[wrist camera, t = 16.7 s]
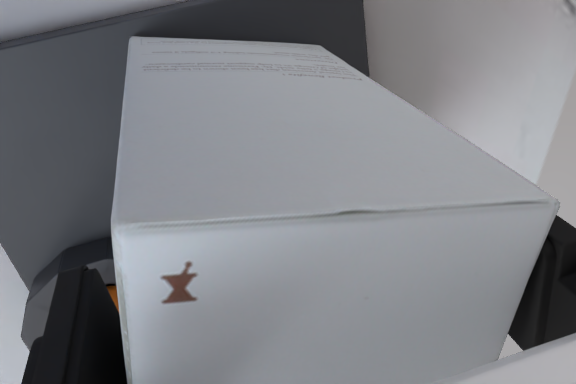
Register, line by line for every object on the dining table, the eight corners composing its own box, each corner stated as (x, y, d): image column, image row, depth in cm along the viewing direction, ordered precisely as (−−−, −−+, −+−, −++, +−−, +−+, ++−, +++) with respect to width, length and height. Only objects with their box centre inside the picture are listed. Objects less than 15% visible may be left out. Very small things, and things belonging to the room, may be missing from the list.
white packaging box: (135, 215, 20) (127, 550, 9) (127, 30, 17) (98, 215, 6) (305, 209, 22) (460, 475, 11) (328, 42, 19) (580, 196, 8)
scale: (72, 355, 24) (64, 405, 22) (-100, 64, 17) (-145, 89, 14) (375, 259, 26) (400, 295, 24) (346, -35, 19) (378, -30, 16)
